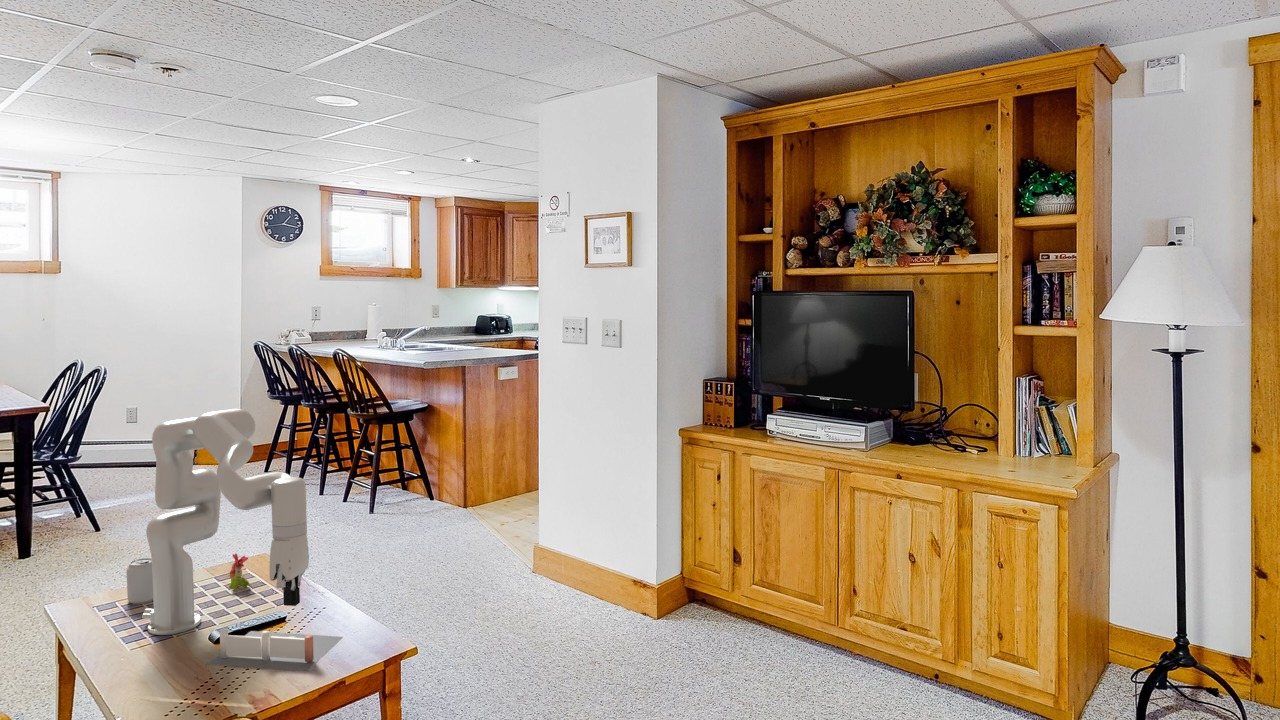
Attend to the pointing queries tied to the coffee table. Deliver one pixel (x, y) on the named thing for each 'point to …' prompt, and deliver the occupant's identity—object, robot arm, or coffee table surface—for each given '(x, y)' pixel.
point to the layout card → (319, 647)
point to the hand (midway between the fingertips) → (291, 604)
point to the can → (140, 581)
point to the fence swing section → (292, 647)
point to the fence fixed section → (245, 645)
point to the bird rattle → (238, 573)
